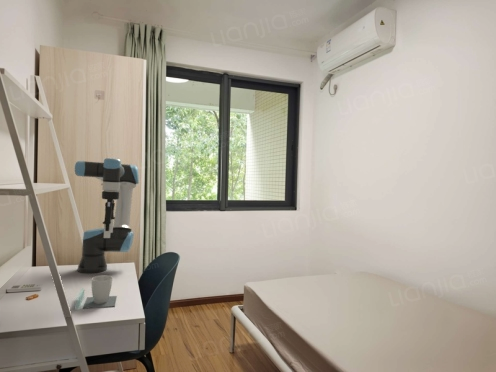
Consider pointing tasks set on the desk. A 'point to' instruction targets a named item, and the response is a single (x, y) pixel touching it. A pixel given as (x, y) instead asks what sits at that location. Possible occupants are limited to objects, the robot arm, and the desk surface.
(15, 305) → the desk surface
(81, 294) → the wall
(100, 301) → the cup
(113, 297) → the mat
